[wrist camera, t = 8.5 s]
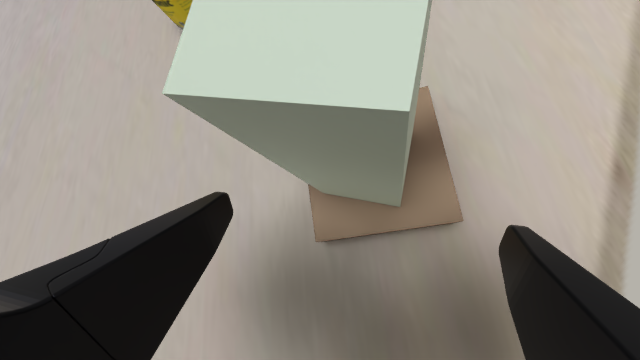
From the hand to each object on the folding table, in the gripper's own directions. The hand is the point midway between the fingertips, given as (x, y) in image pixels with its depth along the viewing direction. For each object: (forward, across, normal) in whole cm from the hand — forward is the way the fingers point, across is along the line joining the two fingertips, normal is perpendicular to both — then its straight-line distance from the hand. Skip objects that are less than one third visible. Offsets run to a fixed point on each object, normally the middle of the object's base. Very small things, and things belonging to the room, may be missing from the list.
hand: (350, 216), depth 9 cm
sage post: (+9, 0, +3) cm, 9 cm away
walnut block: (+11, 0, +5) cm, 12 cm away
